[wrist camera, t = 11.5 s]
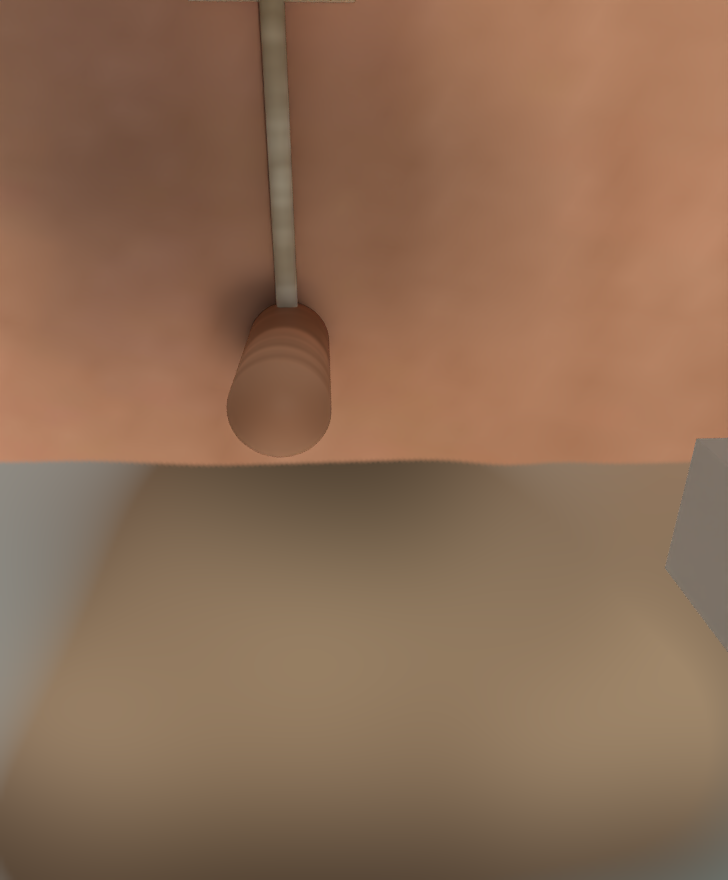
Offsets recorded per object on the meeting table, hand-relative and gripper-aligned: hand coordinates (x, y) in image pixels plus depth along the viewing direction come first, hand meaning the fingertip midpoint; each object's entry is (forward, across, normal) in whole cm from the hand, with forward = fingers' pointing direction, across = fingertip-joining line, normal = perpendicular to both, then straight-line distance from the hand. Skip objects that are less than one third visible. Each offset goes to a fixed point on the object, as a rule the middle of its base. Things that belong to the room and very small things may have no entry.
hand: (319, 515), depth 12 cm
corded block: (+19, -1, +6) cm, 20 cm away
